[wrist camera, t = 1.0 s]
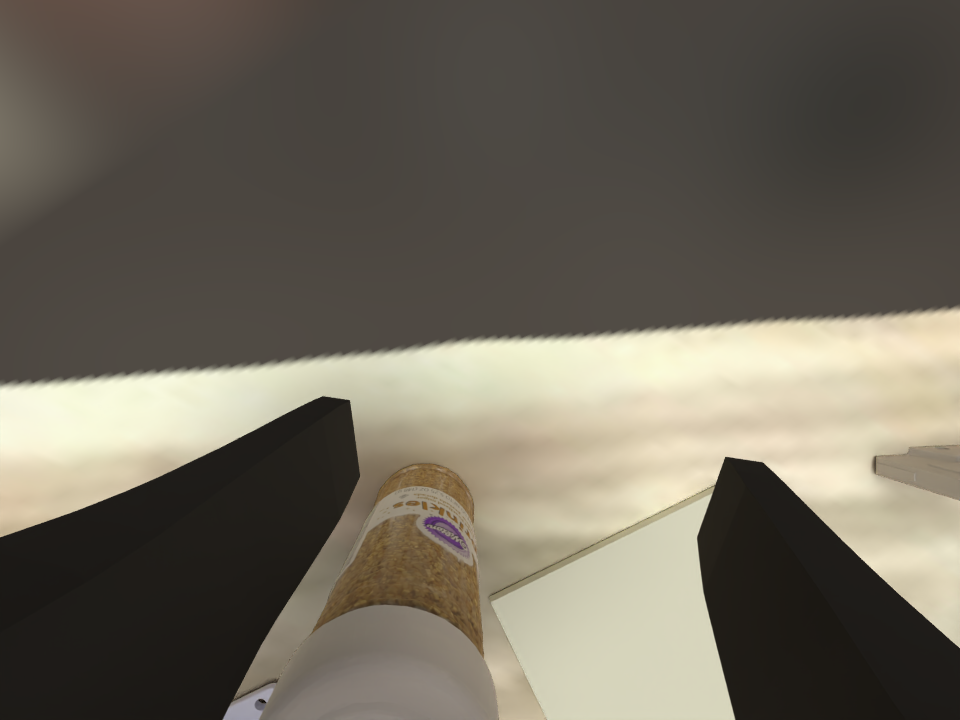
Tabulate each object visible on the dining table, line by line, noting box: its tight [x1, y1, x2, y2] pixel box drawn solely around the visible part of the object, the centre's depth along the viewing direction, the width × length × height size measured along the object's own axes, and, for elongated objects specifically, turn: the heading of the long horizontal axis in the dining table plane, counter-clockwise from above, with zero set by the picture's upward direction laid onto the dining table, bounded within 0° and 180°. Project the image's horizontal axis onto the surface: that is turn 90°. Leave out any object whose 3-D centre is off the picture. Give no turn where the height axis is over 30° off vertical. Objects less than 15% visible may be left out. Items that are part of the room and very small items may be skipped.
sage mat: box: [490, 486, 735, 720], centre depth 22 cm, size 12×12×1 cm
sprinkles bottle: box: [259, 464, 499, 720], centre depth 14 cm, size 5×5×14 cm
